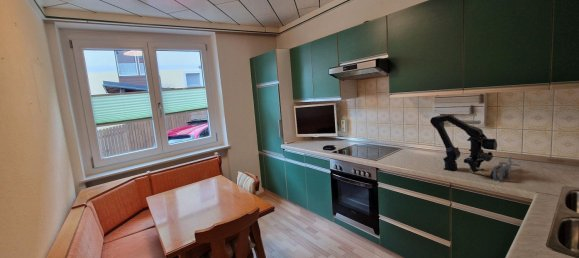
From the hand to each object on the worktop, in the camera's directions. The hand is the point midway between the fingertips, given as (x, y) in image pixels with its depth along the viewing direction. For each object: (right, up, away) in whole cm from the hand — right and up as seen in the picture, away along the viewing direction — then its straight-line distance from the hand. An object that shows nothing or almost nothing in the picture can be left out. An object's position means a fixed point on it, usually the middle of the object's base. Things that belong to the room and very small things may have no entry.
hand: (475, 171), depth 165 cm
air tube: (+3, -2, -4) cm, 5 cm away
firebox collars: (+7, -3, -11) cm, 14 cm away
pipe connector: (+22, 0, 0) cm, 22 cm away
